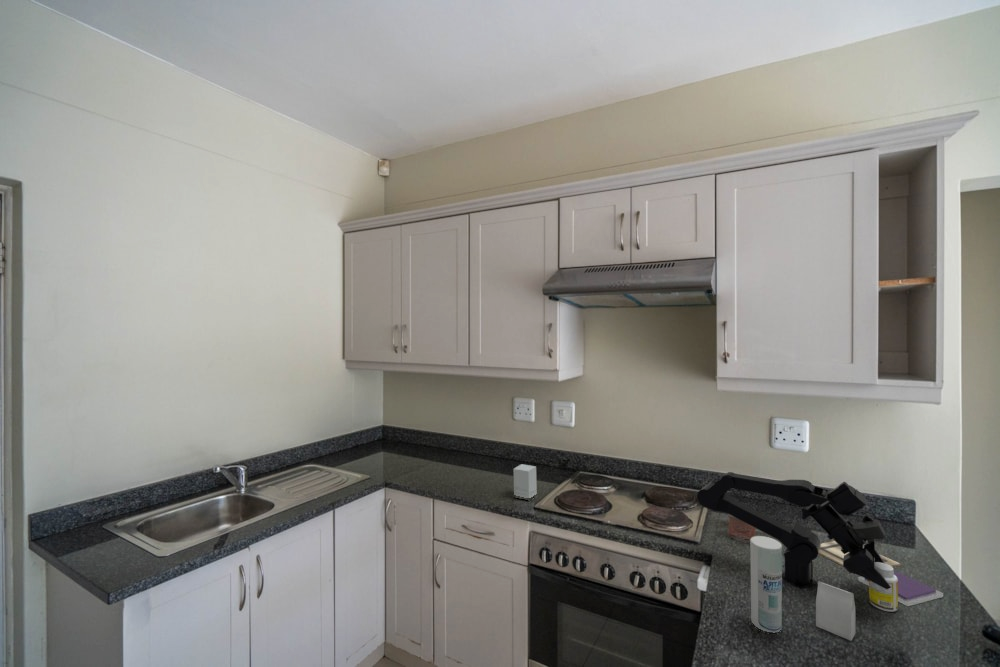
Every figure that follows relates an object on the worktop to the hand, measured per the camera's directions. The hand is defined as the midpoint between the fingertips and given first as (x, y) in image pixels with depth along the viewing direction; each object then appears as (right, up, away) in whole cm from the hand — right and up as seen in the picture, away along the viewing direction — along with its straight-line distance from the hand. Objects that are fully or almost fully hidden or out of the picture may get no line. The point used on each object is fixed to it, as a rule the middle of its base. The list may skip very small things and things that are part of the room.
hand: (888, 579), depth 113 cm
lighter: (-17, -7, +37) cm, 41 cm away
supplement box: (-87, -7, +76) cm, 115 cm away
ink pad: (+10, -7, +8) cm, 14 cm away
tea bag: (-19, -8, -8) cm, 22 cm away
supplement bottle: (-1, -7, +1) cm, 7 cm away
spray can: (-34, -8, -6) cm, 36 cm away
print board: (+10, -6, +25) cm, 27 cm away
